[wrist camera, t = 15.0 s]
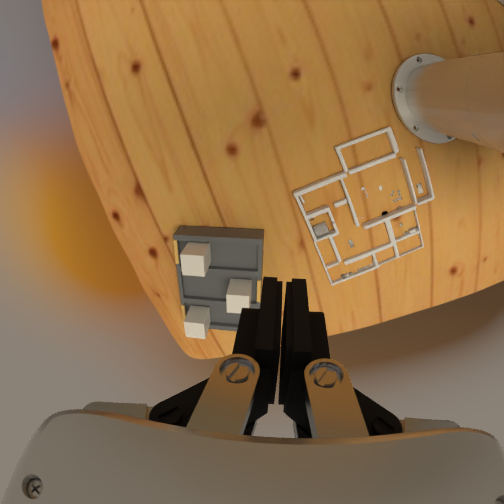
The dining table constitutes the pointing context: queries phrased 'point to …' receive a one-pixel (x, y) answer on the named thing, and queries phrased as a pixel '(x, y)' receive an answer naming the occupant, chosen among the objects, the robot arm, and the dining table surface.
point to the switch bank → (220, 270)
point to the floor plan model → (324, 233)
